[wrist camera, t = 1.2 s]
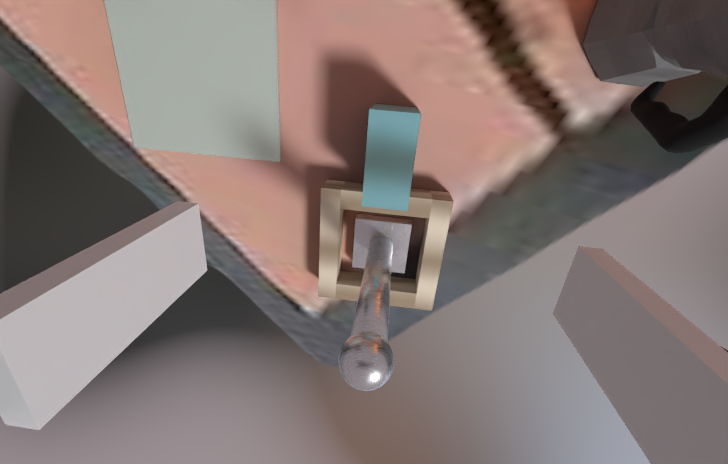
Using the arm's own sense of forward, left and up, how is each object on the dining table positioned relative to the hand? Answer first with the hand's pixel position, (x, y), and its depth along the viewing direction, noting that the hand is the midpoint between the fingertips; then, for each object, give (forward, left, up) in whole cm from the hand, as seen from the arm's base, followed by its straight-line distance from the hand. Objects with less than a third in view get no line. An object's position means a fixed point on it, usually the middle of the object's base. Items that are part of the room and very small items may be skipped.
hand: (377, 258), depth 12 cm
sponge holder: (+7, 0, -24) cm, 25 cm away
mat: (-7, -20, -24) cm, 32 cm away
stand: (+11, 0, -24) cm, 26 cm away
